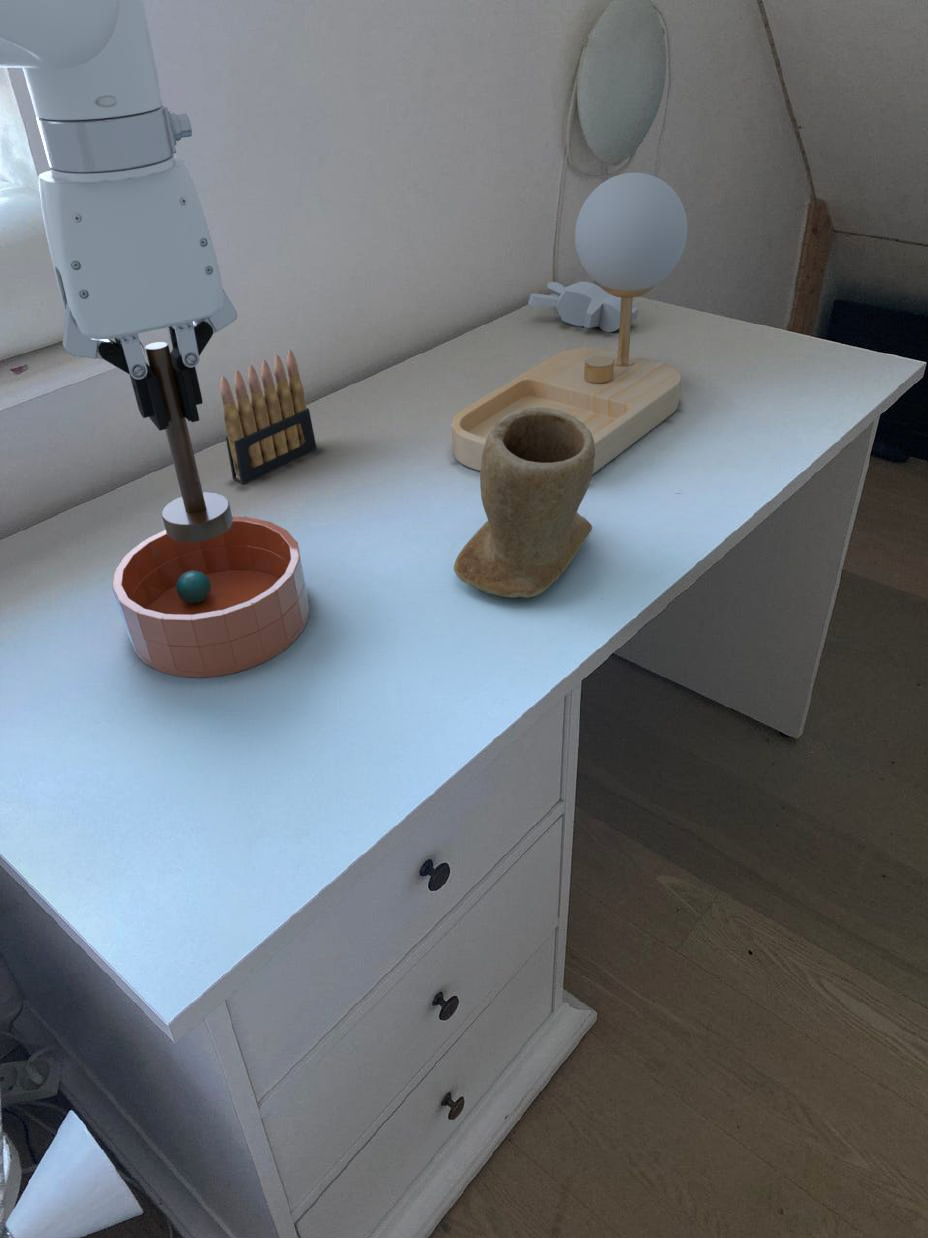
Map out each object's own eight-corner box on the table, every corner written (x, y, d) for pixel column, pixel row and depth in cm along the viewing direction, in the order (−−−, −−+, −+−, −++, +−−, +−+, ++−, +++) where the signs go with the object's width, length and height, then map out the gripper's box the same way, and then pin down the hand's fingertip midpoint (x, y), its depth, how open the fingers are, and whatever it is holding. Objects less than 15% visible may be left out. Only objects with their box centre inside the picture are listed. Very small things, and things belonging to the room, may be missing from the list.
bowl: (159, 702, 76) (141, 644, 72) (111, 605, 87) (93, 550, 83) (337, 635, 82) (328, 578, 78) (271, 552, 92) (260, 499, 89)
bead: (174, 606, 85) (175, 596, 82) (176, 574, 86) (178, 564, 83) (208, 609, 86) (211, 600, 83) (210, 577, 87) (213, 567, 84)
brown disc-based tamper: (177, 549, 72) (129, 364, 63) (158, 521, 76) (109, 343, 67) (242, 529, 74) (204, 347, 66) (220, 503, 78) (181, 327, 69)
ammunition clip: (306, 444, 111) (290, 344, 103) (317, 448, 110) (301, 348, 102) (232, 479, 105) (210, 376, 97) (242, 484, 104) (220, 381, 96)
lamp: (561, 499, 98) (566, 248, 83) (433, 457, 107) (416, 222, 92) (707, 388, 118) (733, 169, 103) (589, 359, 127) (597, 154, 112)
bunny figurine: (619, 312, 129) (524, 284, 135) (613, 348, 133) (521, 319, 138) (648, 292, 135) (556, 265, 141) (641, 326, 139) (552, 299, 144)
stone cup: (555, 623, 81) (559, 469, 72) (438, 588, 86) (427, 439, 77) (623, 538, 92) (633, 393, 83) (514, 510, 97) (513, 371, 88)
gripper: (211, 120, 64) (257, 378, 75) (-35, 152, 58) (54, 428, 69) (249, 136, 59) (292, 411, 70) (-17, 172, 53) (76, 467, 64)
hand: (173, 417), depth 70 cm, fingers closed on brown disc-based tamper
